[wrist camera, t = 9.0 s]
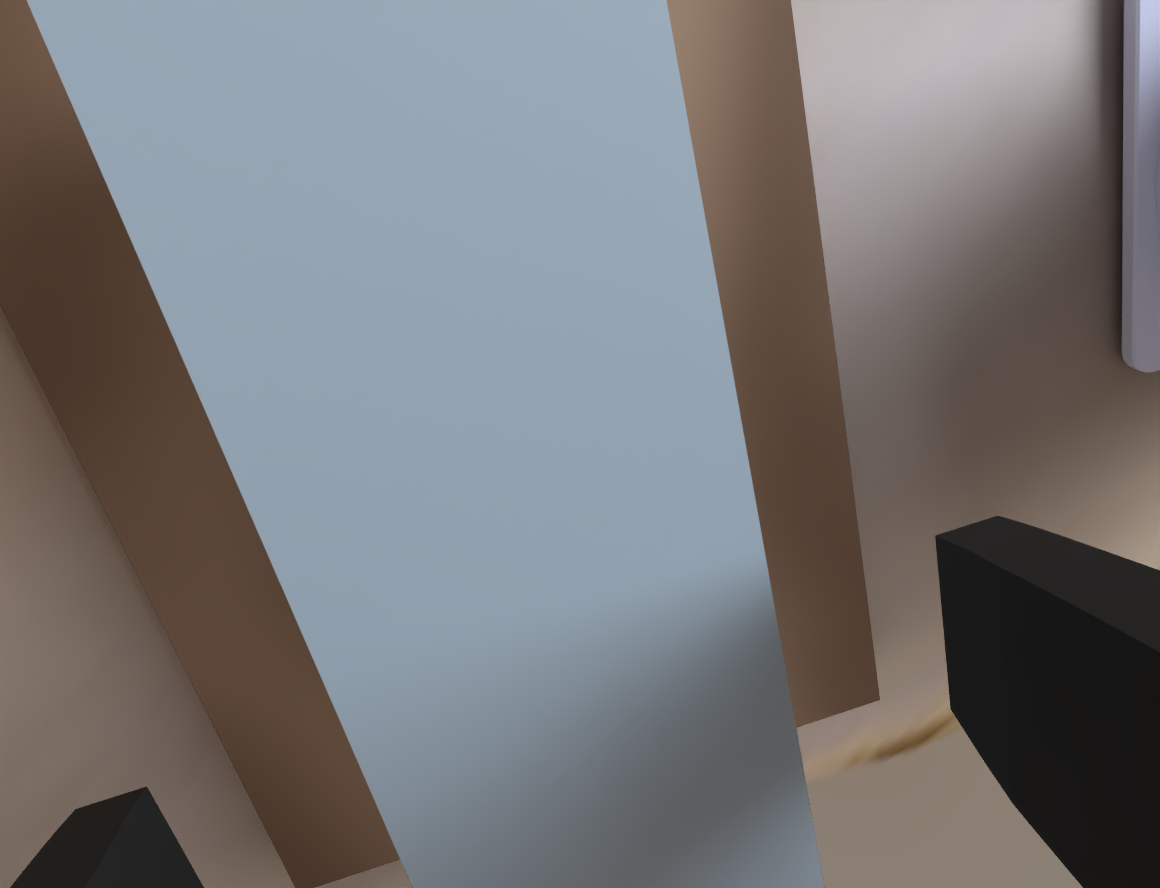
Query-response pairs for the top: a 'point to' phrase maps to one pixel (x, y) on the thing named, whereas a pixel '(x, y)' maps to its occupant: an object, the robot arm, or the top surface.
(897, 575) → the top surface
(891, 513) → the top surface
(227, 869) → the top surface
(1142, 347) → the robot arm
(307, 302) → the pale blue rectangular block
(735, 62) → the peg stand
